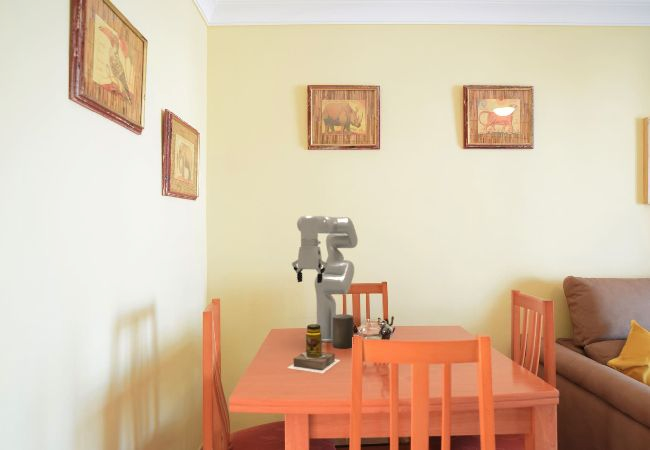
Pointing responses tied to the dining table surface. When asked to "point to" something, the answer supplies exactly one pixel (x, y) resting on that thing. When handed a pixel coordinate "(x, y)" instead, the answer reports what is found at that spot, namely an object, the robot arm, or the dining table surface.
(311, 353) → the condiment
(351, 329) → the pillar candle
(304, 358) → the plinth
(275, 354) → the dining table surface
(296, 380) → the dining table surface
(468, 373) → the dining table surface
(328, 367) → the base board
